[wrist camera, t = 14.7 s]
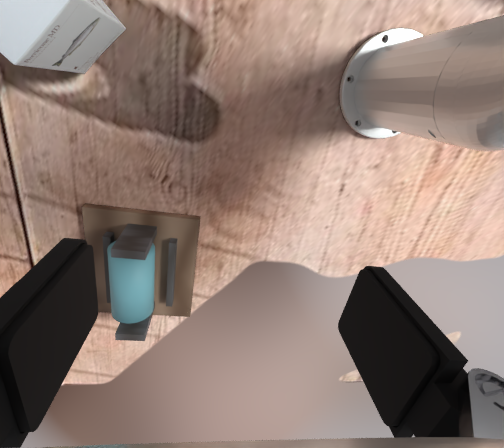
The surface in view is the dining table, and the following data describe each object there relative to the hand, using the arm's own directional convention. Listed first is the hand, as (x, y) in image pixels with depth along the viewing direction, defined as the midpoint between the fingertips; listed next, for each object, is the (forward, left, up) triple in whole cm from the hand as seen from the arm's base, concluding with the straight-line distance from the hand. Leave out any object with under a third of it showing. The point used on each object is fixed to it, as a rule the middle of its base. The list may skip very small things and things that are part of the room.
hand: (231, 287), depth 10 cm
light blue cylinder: (+10, +21, -29) cm, 37 cm away
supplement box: (+17, -10, -31) cm, 36 cm away
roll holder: (+10, +21, -30) cm, 38 cm away
